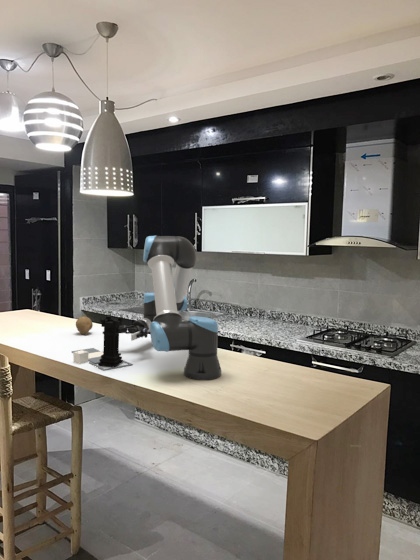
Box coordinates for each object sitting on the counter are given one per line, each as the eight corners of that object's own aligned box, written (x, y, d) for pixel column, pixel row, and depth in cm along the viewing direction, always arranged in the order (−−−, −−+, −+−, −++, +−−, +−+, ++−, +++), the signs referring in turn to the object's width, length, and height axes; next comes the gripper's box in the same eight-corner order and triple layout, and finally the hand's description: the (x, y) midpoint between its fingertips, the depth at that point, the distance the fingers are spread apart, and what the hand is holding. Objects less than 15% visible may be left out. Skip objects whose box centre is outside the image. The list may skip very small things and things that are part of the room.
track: (117, 360, 201) (117, 358, 200) (94, 364, 193) (94, 363, 193) (93, 348, 219) (93, 347, 219) (71, 352, 212) (71, 351, 212)
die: (88, 362, 197) (88, 351, 196) (79, 364, 193) (79, 353, 193) (82, 360, 200) (82, 349, 199) (73, 362, 196) (73, 351, 196)
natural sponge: (82, 331, 256) (82, 314, 255) (96, 333, 253) (95, 315, 252) (72, 334, 247) (72, 317, 246) (86, 336, 244) (85, 318, 243)
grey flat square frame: (132, 365, 193) (132, 364, 193) (103, 370, 184) (103, 369, 184) (117, 358, 203) (117, 357, 203) (89, 363, 195) (89, 362, 195)
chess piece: (115, 367, 189) (116, 321, 186) (98, 365, 191) (99, 319, 188) (123, 361, 197) (124, 317, 194) (106, 359, 199) (107, 315, 196)
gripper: (164, 337, 216) (143, 347, 196) (119, 332, 224) (94, 341, 204) (164, 321, 215) (143, 330, 195) (119, 317, 223) (94, 325, 203)
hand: (118, 336), depth 199 cm, fingers open, 13 cm apart
